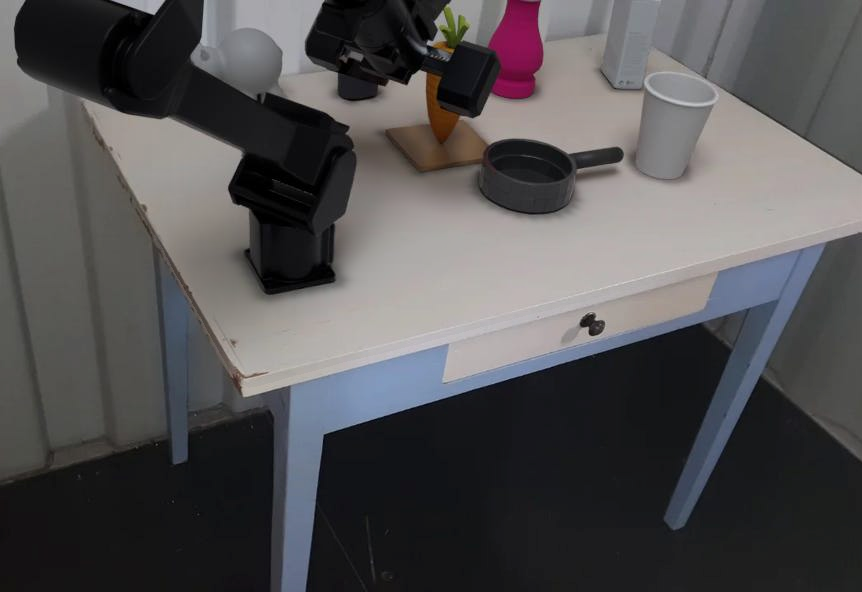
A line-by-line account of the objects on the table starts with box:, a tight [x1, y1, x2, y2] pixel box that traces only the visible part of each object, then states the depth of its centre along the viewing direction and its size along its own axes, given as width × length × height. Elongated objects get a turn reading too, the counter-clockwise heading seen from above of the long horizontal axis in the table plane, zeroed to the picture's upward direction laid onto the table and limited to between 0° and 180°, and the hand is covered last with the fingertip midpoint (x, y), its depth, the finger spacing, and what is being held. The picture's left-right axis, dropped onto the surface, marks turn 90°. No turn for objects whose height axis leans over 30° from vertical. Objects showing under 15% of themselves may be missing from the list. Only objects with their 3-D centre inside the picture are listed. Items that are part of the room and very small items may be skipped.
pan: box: [478, 137, 578, 214], centre depth 98 cm, size 10×10×4 cm
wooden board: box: [384, 119, 490, 173], centre depth 104 cm, size 10×9×1 cm
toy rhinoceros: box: [191, 27, 284, 104], centre depth 103 cm, size 7×12×8 cm, turn 117°
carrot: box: [425, 6, 471, 143], centre depth 99 cm, size 5×5×15 cm
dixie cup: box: [634, 71, 720, 180], centre depth 104 cm, size 8×8×10 cm
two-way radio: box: [337, 73, 379, 100], centre depth 107 cm, size 6×4×15 cm
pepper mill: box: [487, 0, 544, 99], centre depth 113 cm, size 7×7×20 cm
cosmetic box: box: [600, 0, 662, 90], centre depth 122 cm, size 6×4×12 cm
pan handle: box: [567, 146, 625, 170], centre depth 101 cm, size 8×2×2 cm, turn 119°
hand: (424, 95), depth 95 cm, fingers open, 9 cm apart
